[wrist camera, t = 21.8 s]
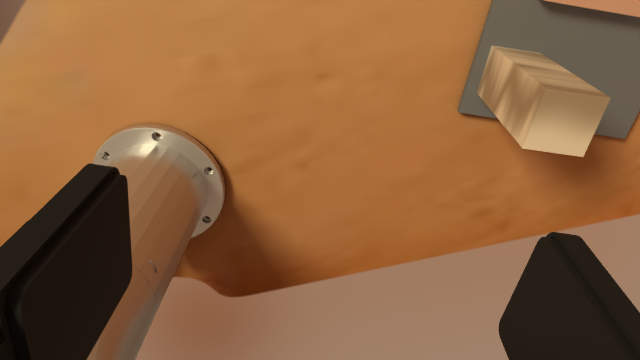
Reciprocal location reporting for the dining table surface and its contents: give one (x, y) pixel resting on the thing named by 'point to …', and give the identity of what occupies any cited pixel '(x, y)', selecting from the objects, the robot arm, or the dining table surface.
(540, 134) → the light wood block
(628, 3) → the tile
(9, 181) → the dining table surface
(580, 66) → the mat
